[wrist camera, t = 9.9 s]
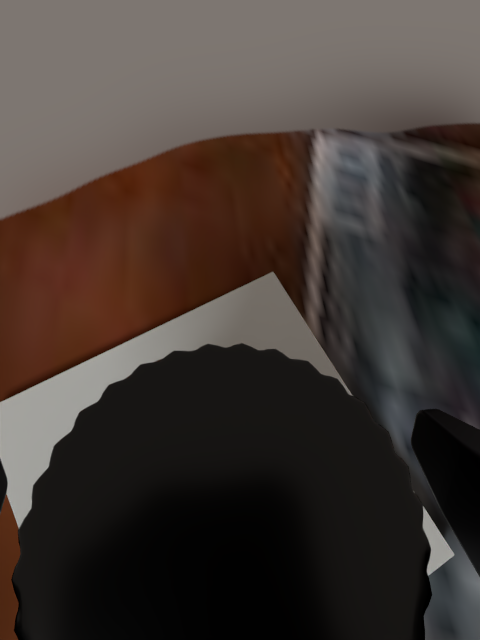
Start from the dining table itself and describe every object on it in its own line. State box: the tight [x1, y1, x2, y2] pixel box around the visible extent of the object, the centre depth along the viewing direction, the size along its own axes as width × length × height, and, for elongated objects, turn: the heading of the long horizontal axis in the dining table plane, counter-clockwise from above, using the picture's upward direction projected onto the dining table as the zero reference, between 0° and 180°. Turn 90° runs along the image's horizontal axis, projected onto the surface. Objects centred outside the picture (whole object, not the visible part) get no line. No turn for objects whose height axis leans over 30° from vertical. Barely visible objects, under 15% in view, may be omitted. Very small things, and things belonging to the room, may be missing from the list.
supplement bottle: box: [11, 343, 432, 640], centre depth 10 cm, size 7×7×12 cm
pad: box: [0, 272, 454, 576], centre depth 16 cm, size 14×14×1 cm
